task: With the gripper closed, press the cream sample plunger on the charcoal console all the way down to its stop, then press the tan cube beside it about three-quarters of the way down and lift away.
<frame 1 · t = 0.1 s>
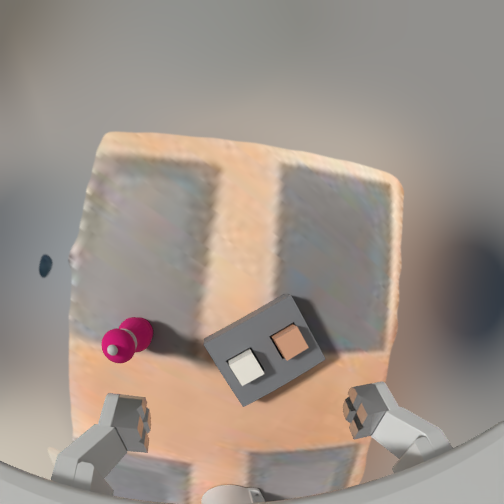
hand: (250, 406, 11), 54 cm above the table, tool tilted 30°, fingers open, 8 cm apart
cream plunger: (245, 366, 57), point 6 cm above the table, slide at 0.0 cm
button console: (262, 347, 64), on the table
tan cube: (288, 341, 59), point 6 cm above the table, slide at 0.0 cm
pepper mill: (139, 331, 62), on the table
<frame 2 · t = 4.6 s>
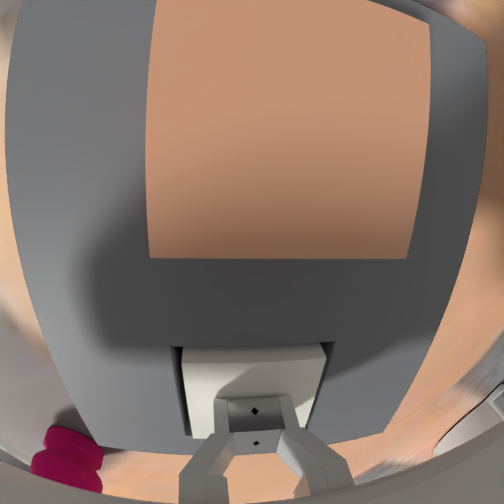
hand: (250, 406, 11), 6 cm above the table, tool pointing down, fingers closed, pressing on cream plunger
cream plunger: (245, 363, 13), point 4 cm above the table, slide at 2.6 cm, touching gripper
button console: (243, 228, 15), on the table
tan cube: (276, 118, 7), point 7 cm above the table, slide at 0.0 cm
pepper mill: (75, 442, 21), on the table
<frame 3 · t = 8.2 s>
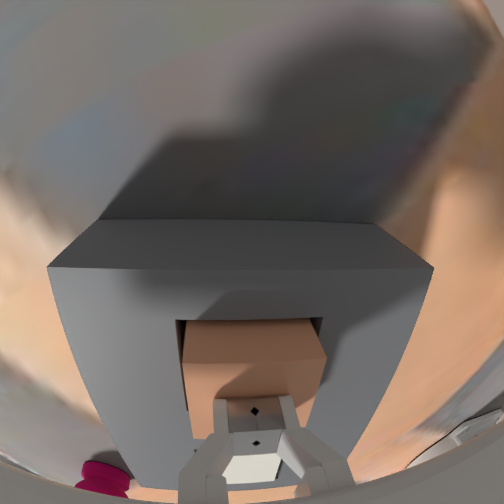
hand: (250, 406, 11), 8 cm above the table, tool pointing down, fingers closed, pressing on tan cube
cream plunger: (238, 442, 18), point 4 cm above the table, slide at 2.7 cm
button console: (235, 360, 20), on the table
tan cube: (246, 364, 13), point 5 cm above the table, slide at 1.0 cm, touching gripper
pepper mill: (106, 470, 27), on the table
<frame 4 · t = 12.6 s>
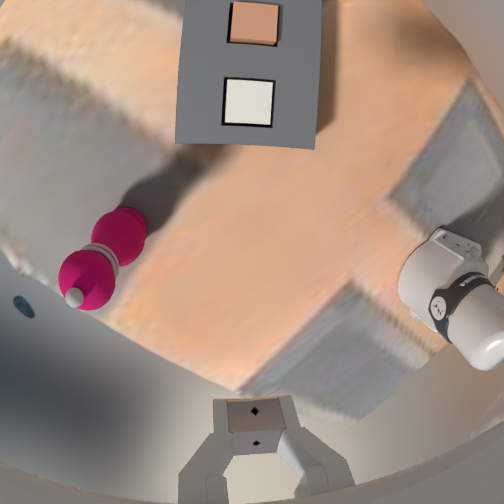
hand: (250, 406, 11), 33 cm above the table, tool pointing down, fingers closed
cream plunger: (246, 103, 33), point 4 cm above the table, slide at 2.7 cm
button console: (246, 70, 34), on the table
tan cube: (252, 27, 28), point 5 cm above the table, slide at 2.0 cm
pepper mill: (127, 227, 41), on the table
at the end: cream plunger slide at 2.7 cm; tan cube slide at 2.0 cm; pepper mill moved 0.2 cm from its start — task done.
